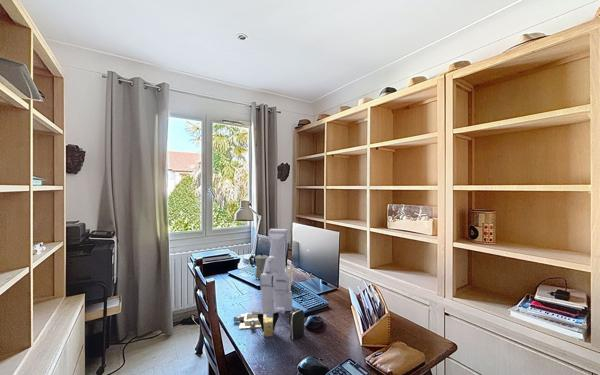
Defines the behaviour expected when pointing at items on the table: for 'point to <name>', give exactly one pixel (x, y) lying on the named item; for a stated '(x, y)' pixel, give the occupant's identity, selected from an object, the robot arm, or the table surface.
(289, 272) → the ink cartridge box
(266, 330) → the coupling block
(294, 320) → the battery charger
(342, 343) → the table surface
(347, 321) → the table surface
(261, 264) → the coffeepot
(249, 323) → the cream square socket base
